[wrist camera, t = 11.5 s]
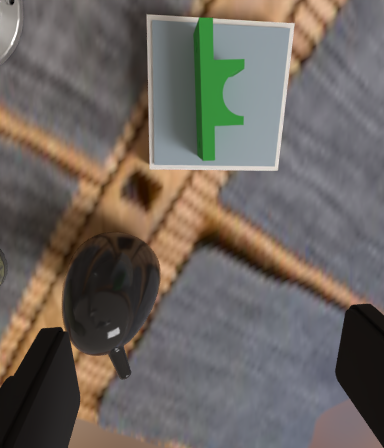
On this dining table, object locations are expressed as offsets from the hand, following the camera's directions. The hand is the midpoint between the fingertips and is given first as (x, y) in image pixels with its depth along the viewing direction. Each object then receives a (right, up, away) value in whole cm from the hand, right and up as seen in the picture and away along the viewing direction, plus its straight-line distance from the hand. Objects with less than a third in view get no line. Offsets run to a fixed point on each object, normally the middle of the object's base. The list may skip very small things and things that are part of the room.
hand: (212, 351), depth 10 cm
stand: (+2, +18, +23) cm, 29 cm away
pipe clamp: (+1, +17, +20) cm, 26 cm away
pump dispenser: (-10, 0, +28) cm, 30 cm away
